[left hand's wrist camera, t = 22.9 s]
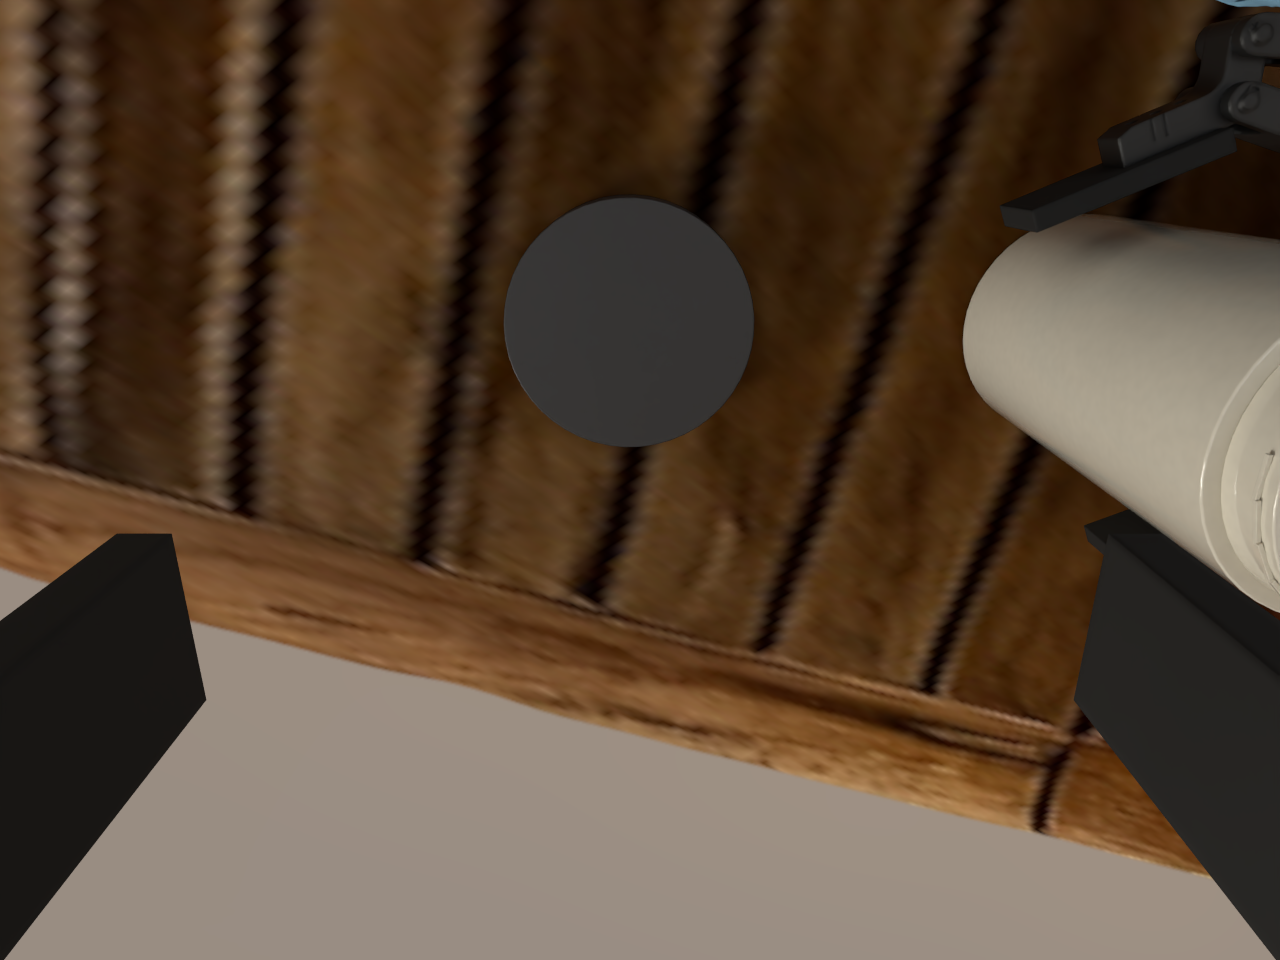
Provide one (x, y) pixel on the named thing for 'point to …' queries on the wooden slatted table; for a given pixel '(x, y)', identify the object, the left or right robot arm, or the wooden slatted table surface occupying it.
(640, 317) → the lid
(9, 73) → the wooden slatted table surface
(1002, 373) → the jar
